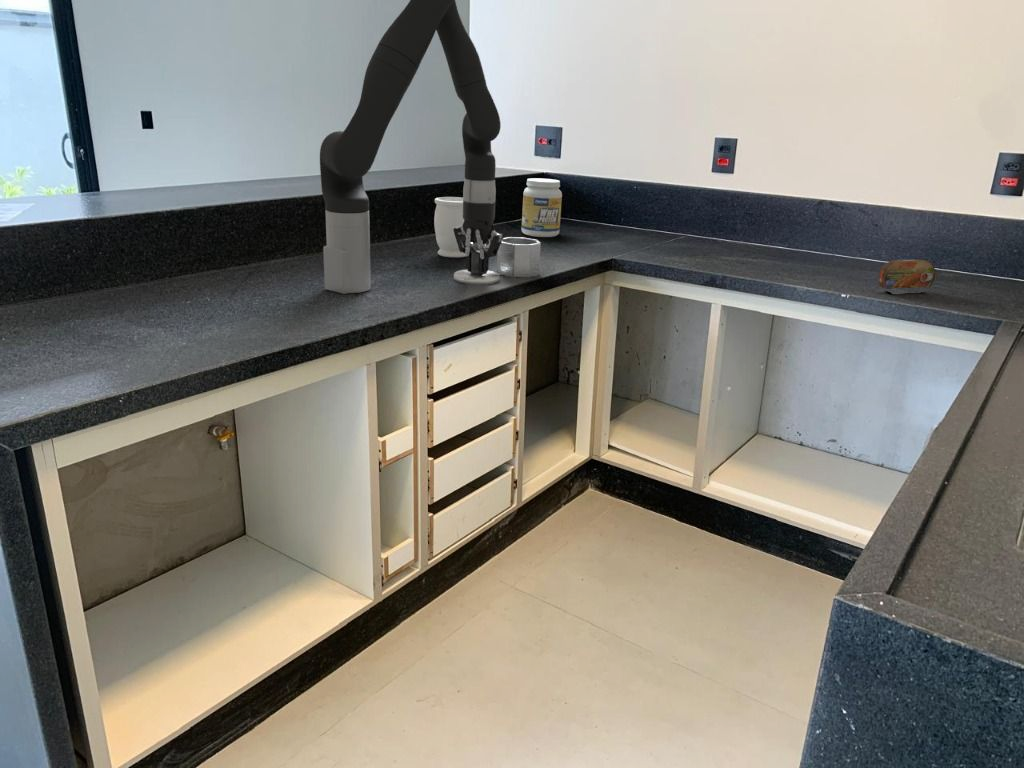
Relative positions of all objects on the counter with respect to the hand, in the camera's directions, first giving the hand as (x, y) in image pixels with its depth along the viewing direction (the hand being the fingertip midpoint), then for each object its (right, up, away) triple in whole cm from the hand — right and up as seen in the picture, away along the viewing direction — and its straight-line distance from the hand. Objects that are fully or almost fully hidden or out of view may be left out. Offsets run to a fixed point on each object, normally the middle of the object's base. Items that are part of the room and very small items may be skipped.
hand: (477, 272), depth 189 cm
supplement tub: (+17, +21, +63) cm, 68 cm away
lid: (0, -2, +1) cm, 2 cm away
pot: (+10, +1, +9) cm, 13 cm away
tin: (+106, -4, +8) cm, 107 cm away
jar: (-8, +8, +26) cm, 29 cm away
